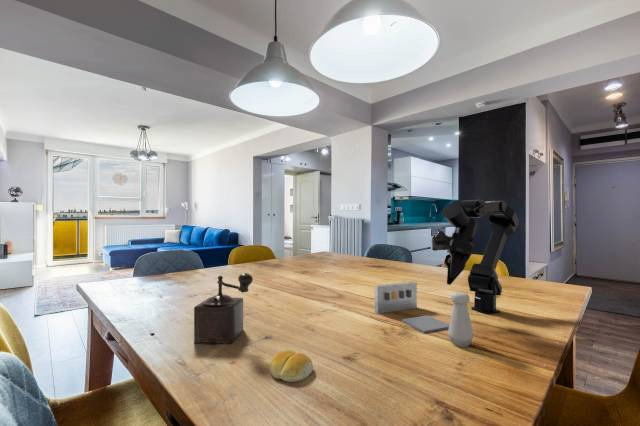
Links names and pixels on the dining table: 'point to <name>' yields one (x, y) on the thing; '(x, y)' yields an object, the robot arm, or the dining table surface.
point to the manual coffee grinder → (221, 315)
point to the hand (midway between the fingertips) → (450, 280)
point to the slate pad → (426, 324)
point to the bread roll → (291, 366)
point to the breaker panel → (395, 297)
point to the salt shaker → (460, 321)
